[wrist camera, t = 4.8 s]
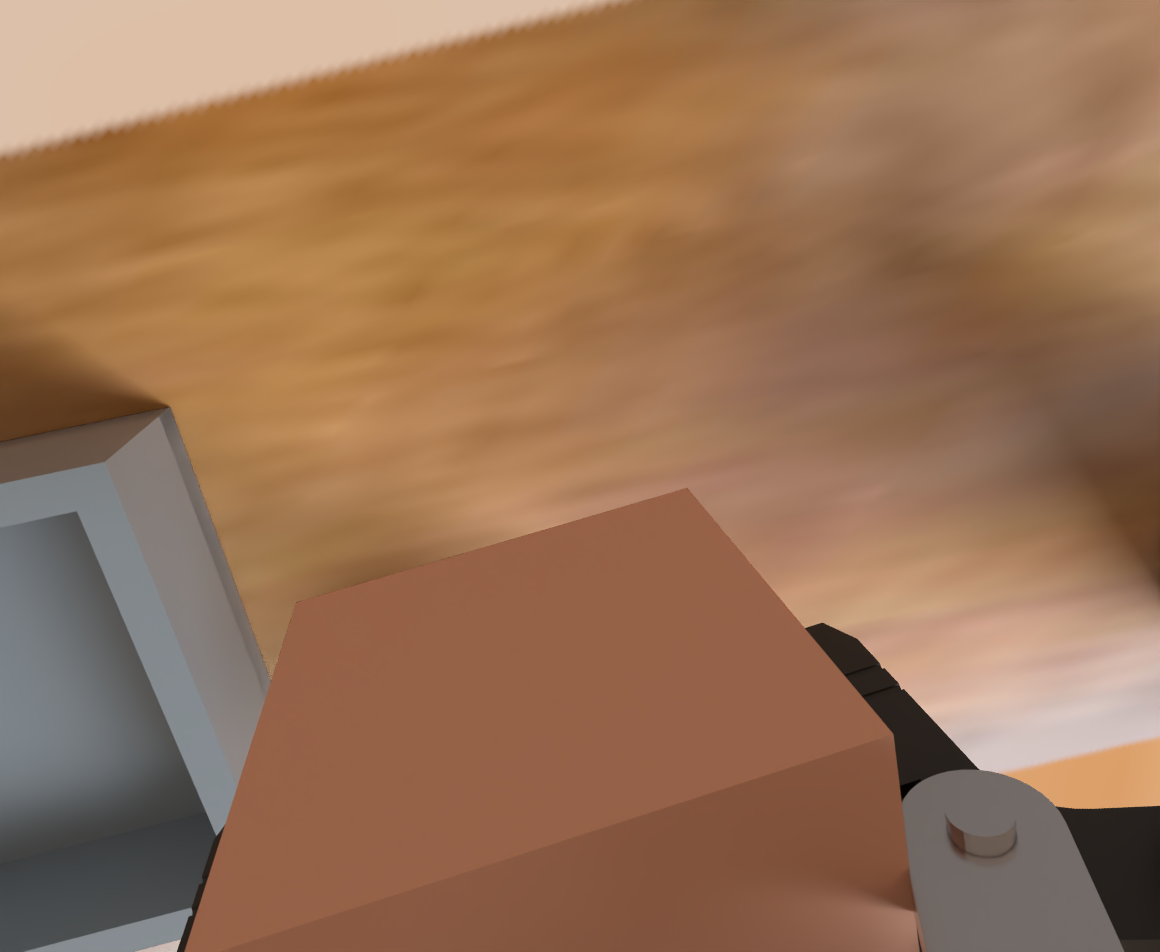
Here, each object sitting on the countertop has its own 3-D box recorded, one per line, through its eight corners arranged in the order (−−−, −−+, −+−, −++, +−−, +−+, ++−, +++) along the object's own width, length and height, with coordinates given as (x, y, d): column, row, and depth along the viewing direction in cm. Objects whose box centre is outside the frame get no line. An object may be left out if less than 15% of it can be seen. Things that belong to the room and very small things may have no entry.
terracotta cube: (687, 487, 10) (893, 733, 6) (749, 791, 12) (945, 1165, 8) (296, 602, 10) (181, 962, 5) (420, 897, 12) (414, 1359, 7)
